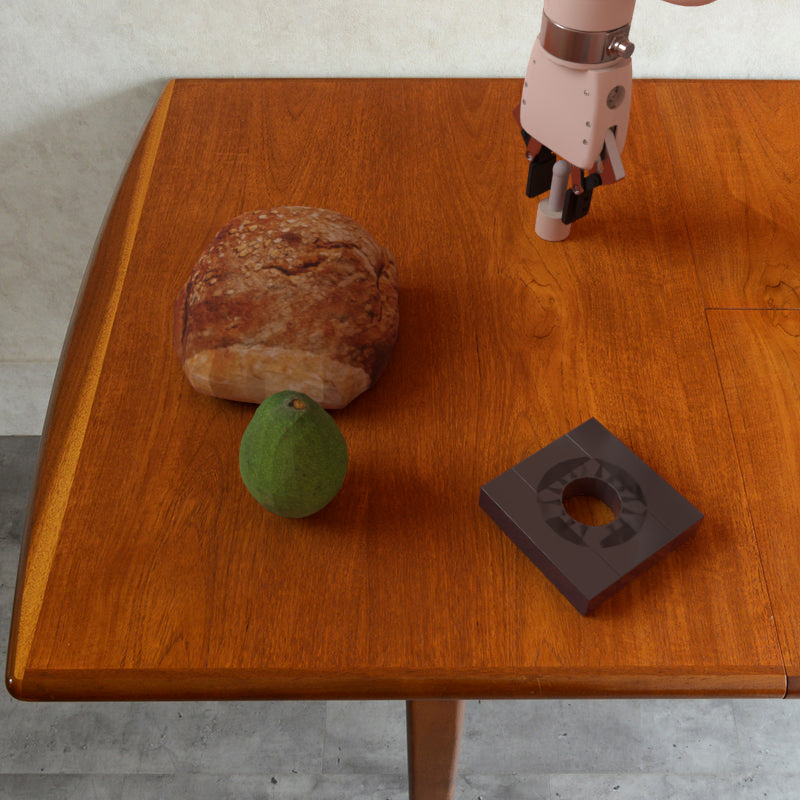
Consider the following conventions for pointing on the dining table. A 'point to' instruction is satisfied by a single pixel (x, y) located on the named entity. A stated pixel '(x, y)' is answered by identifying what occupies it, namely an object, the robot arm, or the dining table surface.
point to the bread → (288, 308)
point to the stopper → (554, 206)
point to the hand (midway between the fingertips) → (556, 204)
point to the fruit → (293, 455)
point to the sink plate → (583, 544)
